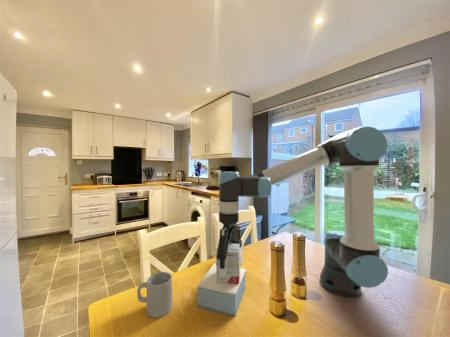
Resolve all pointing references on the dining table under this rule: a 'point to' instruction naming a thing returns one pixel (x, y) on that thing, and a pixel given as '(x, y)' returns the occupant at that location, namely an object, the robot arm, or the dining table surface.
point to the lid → (211, 283)
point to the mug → (157, 294)
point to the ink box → (230, 265)
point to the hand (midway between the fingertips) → (228, 267)
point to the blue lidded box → (221, 300)
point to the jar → (240, 249)
